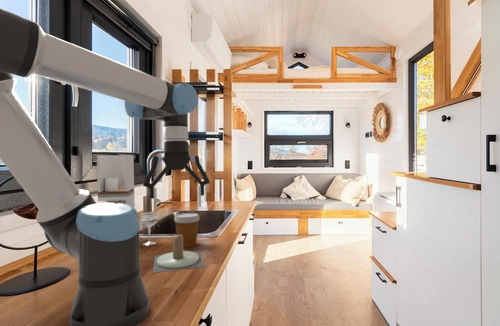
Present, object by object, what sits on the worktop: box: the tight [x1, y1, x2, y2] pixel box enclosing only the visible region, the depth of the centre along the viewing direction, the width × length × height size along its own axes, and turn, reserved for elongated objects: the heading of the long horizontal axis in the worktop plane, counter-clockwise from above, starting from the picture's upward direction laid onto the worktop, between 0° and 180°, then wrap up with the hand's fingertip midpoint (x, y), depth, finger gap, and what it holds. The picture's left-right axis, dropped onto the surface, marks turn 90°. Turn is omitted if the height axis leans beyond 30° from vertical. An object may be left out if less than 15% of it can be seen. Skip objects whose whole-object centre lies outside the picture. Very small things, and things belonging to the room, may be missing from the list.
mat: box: [152, 250, 206, 274], centre depth 91 cm, size 15×15×1 cm
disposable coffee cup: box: [173, 212, 201, 249], centre depth 108 cm, size 10×10×12 cm
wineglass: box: [139, 211, 159, 246], centre depth 112 cm, size 7×7×12 cm
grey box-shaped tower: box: [96, 154, 136, 209], centre depth 113 cm, size 11×11×35 cm
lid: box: [157, 234, 199, 269], centre depth 91 cm, size 13×13×8 cm
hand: (178, 207), depth 91 cm, fingers open, 13 cm apart
